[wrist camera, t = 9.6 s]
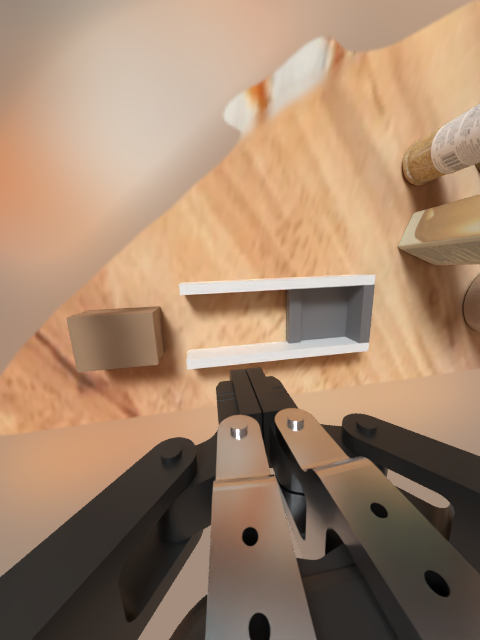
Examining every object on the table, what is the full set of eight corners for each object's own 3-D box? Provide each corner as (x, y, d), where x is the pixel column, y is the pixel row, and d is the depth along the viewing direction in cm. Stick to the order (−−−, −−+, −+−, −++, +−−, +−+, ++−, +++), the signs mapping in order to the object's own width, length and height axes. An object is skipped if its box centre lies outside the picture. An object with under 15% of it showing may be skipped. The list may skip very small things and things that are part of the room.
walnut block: (160, 306, 24) (152, 312, 20) (165, 350, 25) (158, 364, 21) (89, 310, 23) (66, 317, 19) (97, 356, 24) (77, 372, 20)
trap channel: (356, 274, 27) (375, 274, 24) (351, 342, 29) (368, 350, 26) (181, 282, 24) (179, 284, 21) (189, 358, 26) (187, 369, 23)
